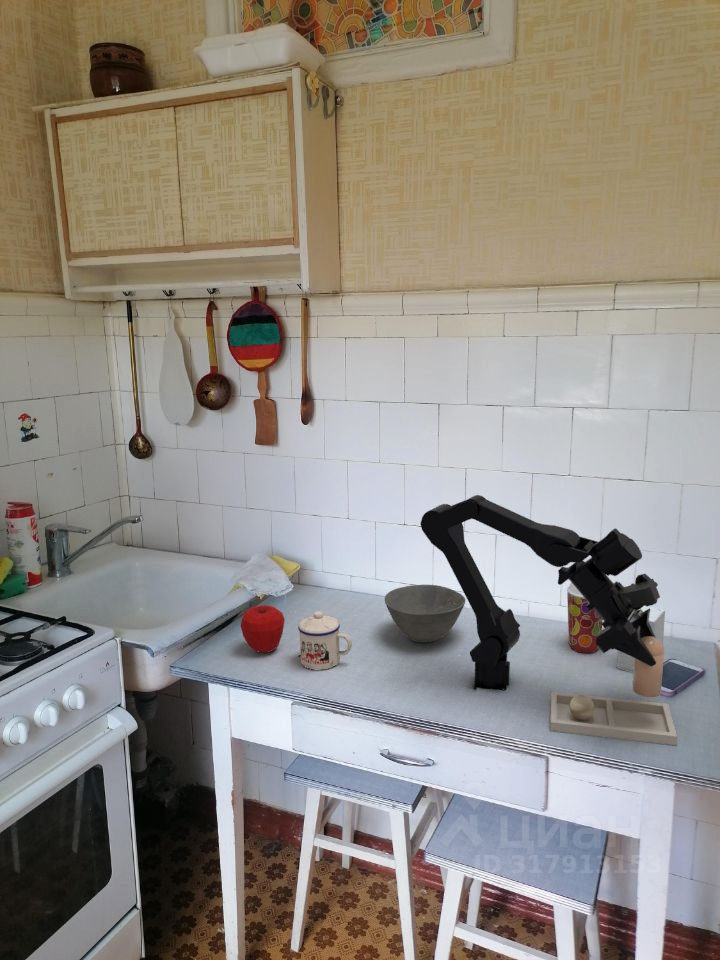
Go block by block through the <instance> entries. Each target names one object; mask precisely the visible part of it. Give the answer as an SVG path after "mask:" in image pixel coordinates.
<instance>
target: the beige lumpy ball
mask: <svg viewBox="0 0 720 960" xmlns="http://www.w3.org/2000/svg"><path fill="white" fill-rule="evenodd" d="M585 695H586V694H577V696H575V697H574V698H572V700H571V702H570V711H571V713H572V715H573V716H574V717H576V718H577V719H580V720H586V719H589V718H590V717H591V716H592V715H593V713H594V704H593V702H592V700H591V699H590V698H589V697H587V696H588V695H587V696H585Z"/></svg>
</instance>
